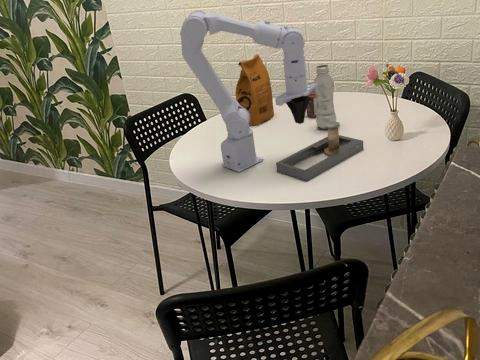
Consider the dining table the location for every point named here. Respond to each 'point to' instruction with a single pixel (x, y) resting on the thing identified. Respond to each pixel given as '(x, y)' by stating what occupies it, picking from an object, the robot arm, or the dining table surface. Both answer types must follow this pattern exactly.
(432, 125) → the dining table surface
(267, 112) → the coffee package
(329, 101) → the plastic bottle
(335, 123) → the peg
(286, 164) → the keyhole plate
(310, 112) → the supplement bottle
